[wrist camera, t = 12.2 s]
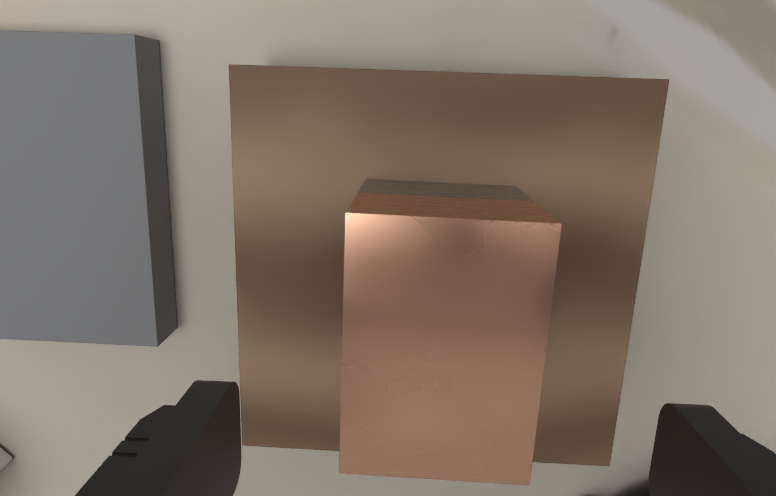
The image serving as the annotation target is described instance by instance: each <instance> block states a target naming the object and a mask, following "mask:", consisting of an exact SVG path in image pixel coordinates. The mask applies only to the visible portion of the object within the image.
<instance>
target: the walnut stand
mask: <svg viewBox="0 0 776 496" xmlns="http://www.w3.org/2000/svg"><path fill="white" fill-rule="evenodd" d="M229 82H230V110H231V139H232V167H233V196H234V224H235V253H236V281H237V310H238V338H239V367H240V395H241V424H242V445H244V446H261V447H279V448H296V449H314V450H332V451H340V413H341V371H342V330H343V288H344V246H345V212H346V211H347V209H348V208H349V206H350V204H351V203H352V201H353V199H354V198H355V196H356V194H357V193H358V191H359V190H360V188H361V186H362V185H363V183H364V181H365V180H366V179H384V180H404V181H425V182H446V183H466V184H487V185H507V186H517V187H518V188H519V189H520V190H521V191H523V192H524V193H525V194H526V195H528V196H529V197H530V198H531V199H532V200H534V201H535V202H536V203H537V204H538V205H540V206H541V207H542V208H543V209H545V210H546V211H547V212H548V213H549V214H551V215H552V216H553V217H554V218H556V219H557V220H558V221H559V222H560V223H562V227H561V235H560V243H559V251H558V259H557V267H556V275H555V283H554V291H553V299H552V307H551V315H550V323H549V332H548V340H547V348H546V356H545V364H544V372H543V380H542V388H541V396H540V404H539V412H538V420H537V428H536V436H535V445H534V453H533V461H532V462H543V463H560V464H578V465H595V466H610V459H611V453H612V446H613V440H614V434H615V427H616V421H617V414H618V408H619V401H620V395H621V388H622V382H623V375H624V369H625V362H626V356H627V350H628V343H629V337H630V330H631V324H632V317H633V311H634V304H635V298H636V291H637V285H638V278H639V272H640V265H641V259H642V253H643V246H644V240H645V233H646V227H647V220H648V214H649V207H650V201H651V194H652V188H653V181H654V175H655V168H656V162H657V156H658V149H659V143H660V136H661V130H662V123H663V117H664V110H665V104H666V97H667V91H668V84H669V80H668V79H639V78H609V77H580V76H551V75H522V74H492V73H463V72H434V71H404V70H375V69H346V68H316V67H287V66H258V65H229Z"/></svg>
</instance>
